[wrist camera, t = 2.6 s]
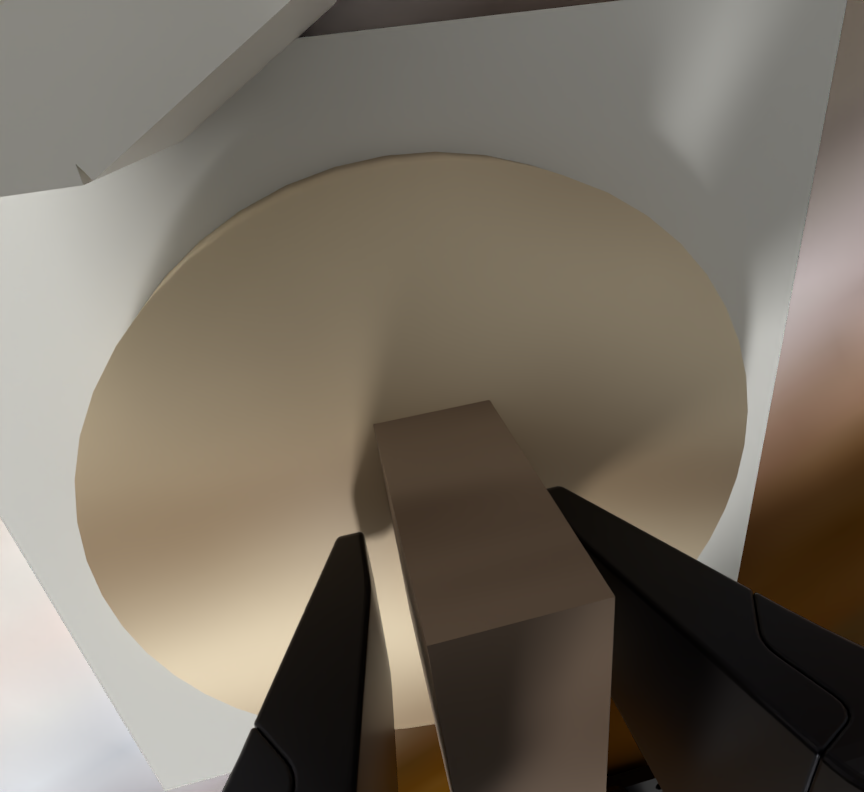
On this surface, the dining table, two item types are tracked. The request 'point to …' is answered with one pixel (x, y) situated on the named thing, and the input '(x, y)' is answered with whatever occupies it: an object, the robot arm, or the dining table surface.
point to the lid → (414, 443)
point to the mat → (394, 135)
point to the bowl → (124, 78)
